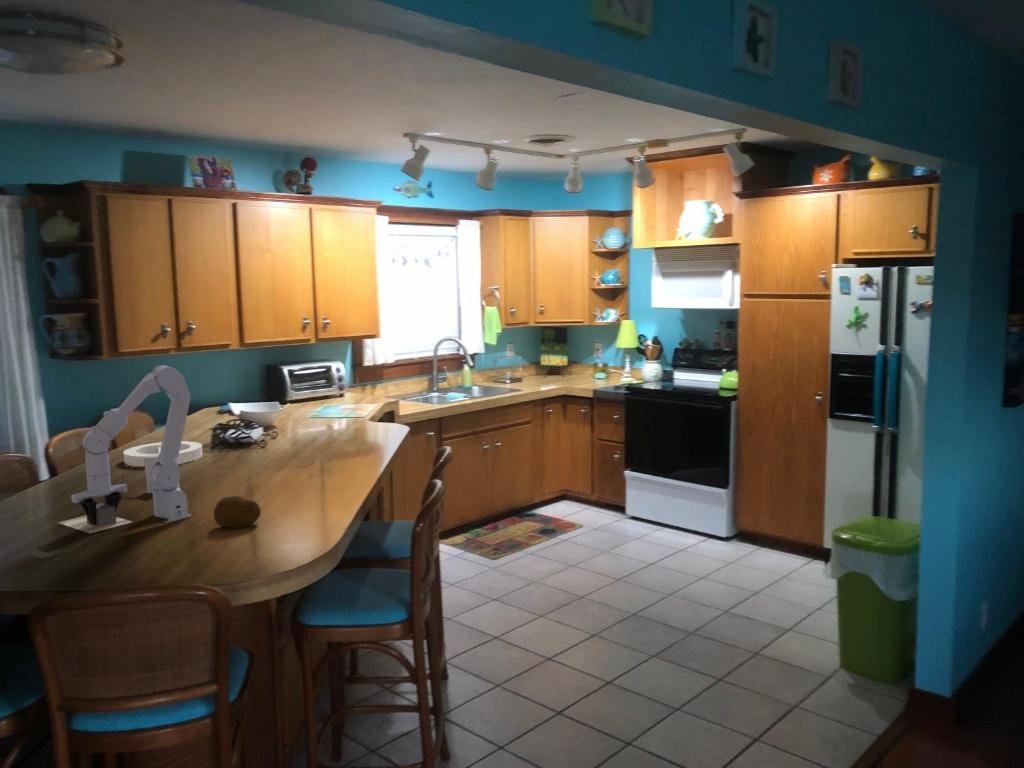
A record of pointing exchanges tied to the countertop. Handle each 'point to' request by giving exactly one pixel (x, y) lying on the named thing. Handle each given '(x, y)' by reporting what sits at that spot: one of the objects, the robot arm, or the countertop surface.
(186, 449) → the white flat ring
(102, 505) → the block
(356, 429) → the countertop surface
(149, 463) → the skincare box
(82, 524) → the board
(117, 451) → the countertop surface
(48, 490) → the countertop surface
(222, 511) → the potato
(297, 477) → the countertop surface
